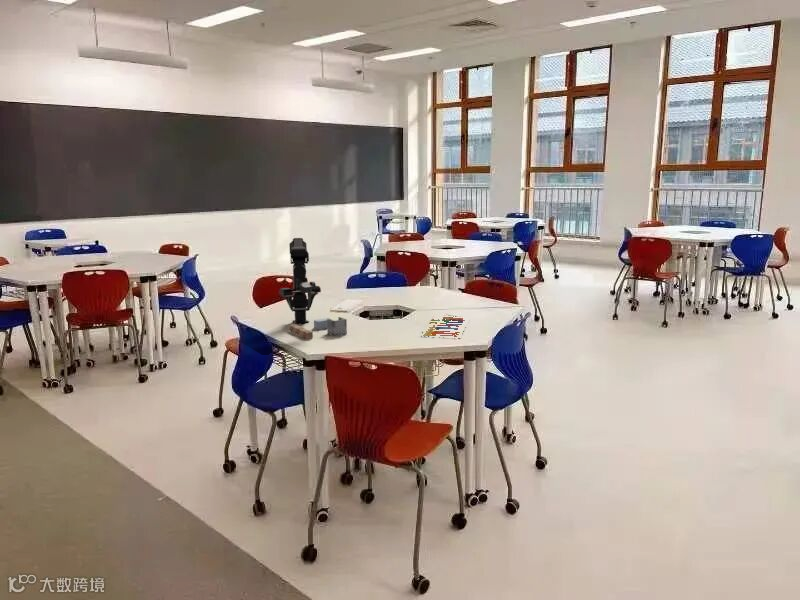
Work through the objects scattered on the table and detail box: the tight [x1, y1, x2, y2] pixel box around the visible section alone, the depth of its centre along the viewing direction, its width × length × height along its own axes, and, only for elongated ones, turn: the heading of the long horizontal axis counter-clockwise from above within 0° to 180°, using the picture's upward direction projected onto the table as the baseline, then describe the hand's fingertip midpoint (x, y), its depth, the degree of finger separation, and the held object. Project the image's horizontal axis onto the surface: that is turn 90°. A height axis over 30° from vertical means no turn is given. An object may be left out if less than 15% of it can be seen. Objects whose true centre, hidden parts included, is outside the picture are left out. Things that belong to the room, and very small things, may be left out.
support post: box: [313, 317, 333, 330], centre depth 292 cm, size 4×8×4 cm, turn 125°
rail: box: [289, 323, 314, 340], centre depth 279 cm, size 18×3×4 cm, turn 35°
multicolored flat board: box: [423, 314, 465, 337], centre depth 295 cm, size 45×2×19 cm
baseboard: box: [329, 298, 364, 313], centre depth 343 cm, size 31×3×12 cm
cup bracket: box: [326, 316, 348, 337], centre depth 281 cm, size 6×7×7 cm
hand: (300, 308), depth 277 cm, fingers open, 9 cm apart
